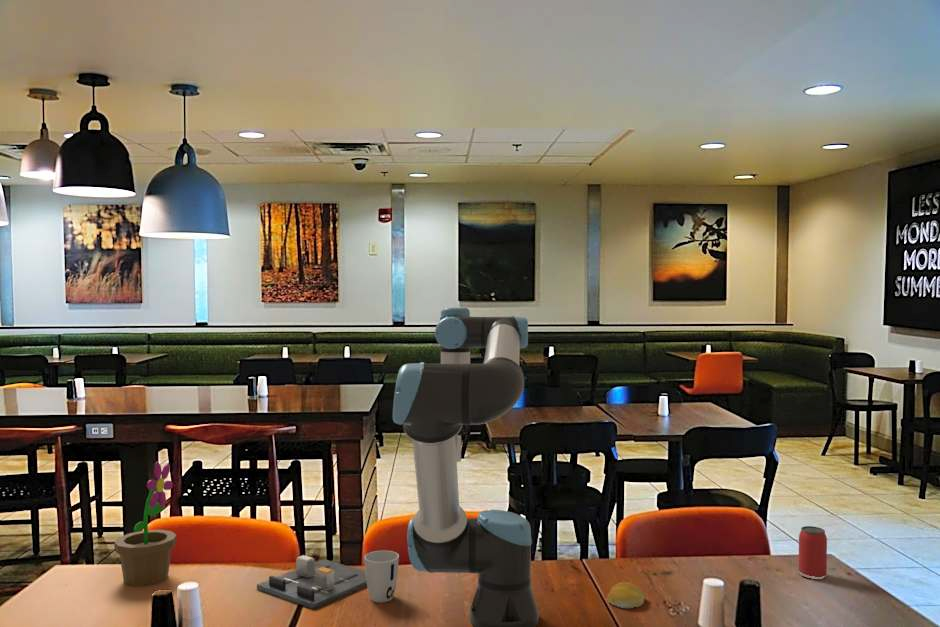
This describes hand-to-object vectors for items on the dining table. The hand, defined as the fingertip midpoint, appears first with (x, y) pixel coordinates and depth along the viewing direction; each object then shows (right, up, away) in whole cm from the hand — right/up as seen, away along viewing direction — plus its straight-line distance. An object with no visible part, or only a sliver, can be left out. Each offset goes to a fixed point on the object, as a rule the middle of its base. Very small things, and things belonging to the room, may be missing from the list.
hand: (455, 460), depth 194 cm
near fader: (-31, -28, -11) cm, 43 cm away
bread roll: (+40, -30, -15) cm, 53 cm away
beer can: (+92, -30, +1) cm, 96 cm away
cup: (-17, -30, -14) cm, 37 cm away
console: (-33, -30, -6) cm, 45 cm away
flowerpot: (-78, -30, -2) cm, 83 cm away
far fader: (-37, -28, -3) cm, 47 cm away
